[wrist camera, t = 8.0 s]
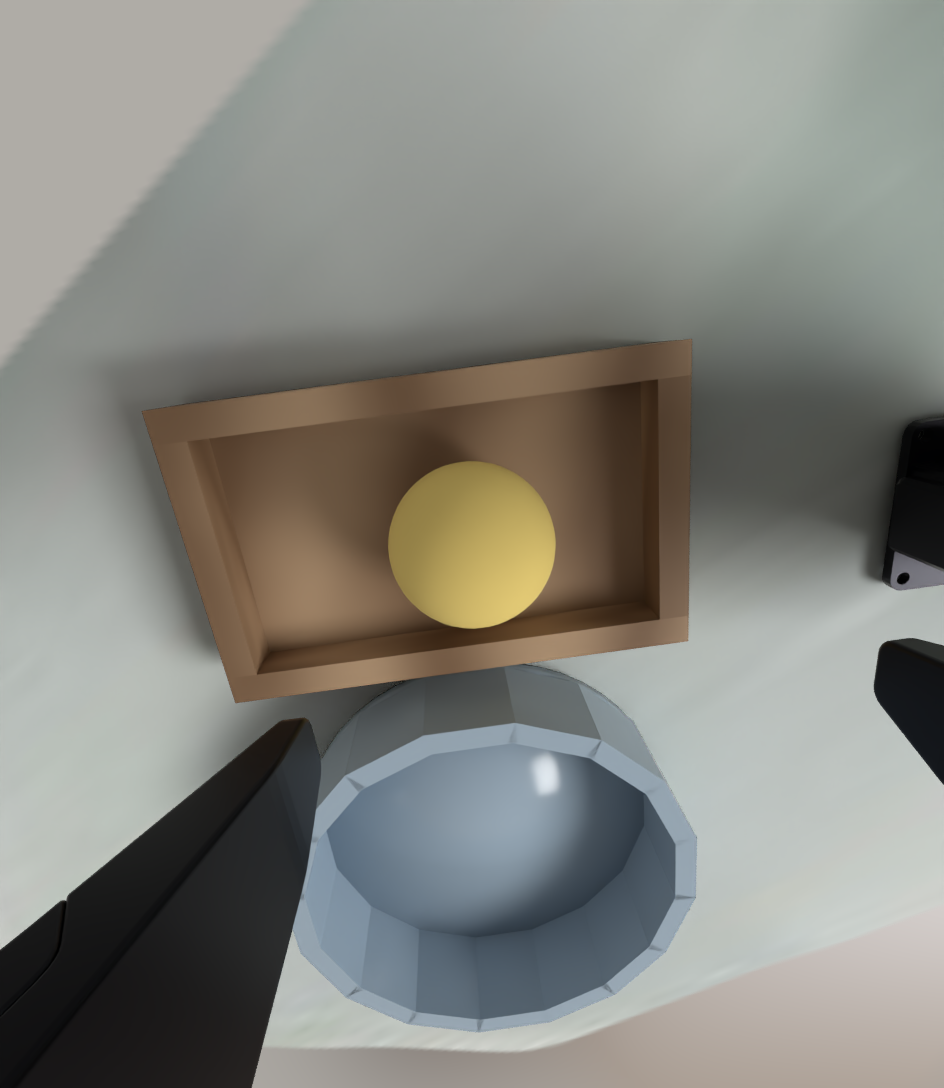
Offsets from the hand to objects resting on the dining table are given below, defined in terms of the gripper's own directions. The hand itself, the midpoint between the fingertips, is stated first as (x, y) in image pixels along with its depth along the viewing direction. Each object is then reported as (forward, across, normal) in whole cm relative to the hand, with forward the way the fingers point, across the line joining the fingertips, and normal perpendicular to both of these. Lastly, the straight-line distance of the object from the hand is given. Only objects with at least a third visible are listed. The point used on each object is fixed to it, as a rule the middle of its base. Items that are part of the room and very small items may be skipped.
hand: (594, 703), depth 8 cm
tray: (+12, +3, 0) cm, 12 cm away
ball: (+10, +2, 0) cm, 11 cm away
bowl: (+12, +3, +14) cm, 18 cm away
